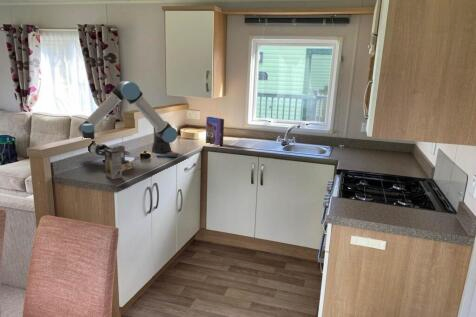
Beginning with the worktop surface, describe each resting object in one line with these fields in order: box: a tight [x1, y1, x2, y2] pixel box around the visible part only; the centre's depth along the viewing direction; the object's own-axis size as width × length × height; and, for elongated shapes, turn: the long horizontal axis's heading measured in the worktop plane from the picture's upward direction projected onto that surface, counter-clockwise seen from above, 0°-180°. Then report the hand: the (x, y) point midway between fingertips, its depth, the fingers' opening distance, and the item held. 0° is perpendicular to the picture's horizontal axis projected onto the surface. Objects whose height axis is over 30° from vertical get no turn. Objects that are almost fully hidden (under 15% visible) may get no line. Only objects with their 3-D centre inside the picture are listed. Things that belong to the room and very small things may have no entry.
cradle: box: [121, 160, 134, 172], centre depth 221 cm, size 11×10×4 cm
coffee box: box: [104, 147, 123, 180], centre depth 202 cm, size 9×6×16 cm
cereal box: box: [205, 116, 225, 146], centre depth 307 cm, size 17×5×24 cm, turn 48°
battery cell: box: [115, 144, 126, 165], centre depth 219 cm, size 6×6×13 cm
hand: (126, 154), depth 217 cm, fingers closed on battery cell, 5 cm apart
